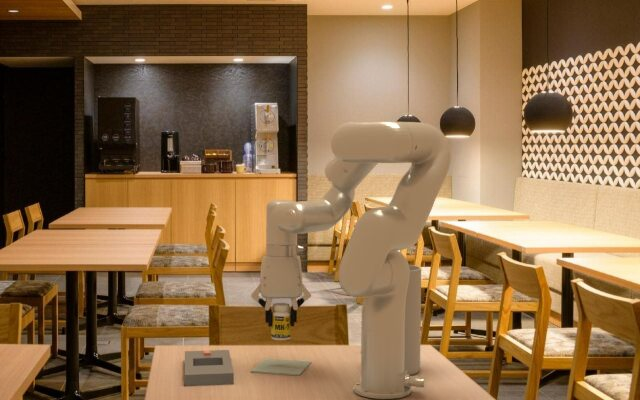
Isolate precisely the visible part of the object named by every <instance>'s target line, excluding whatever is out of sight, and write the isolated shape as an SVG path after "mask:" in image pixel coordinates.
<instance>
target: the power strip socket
mask: <svg viewBox="0 0 640 400" xmlns="http://www.w3.org/2000/svg"><path fill="white" fill-rule="evenodd" d="M231 359H232V358H231V353H230V349H218V350H217V349H215V350H213V349H211V350H209V349H208V350H187V351H186V350H185V351H184V387H189V386H191V387H192V386H209V385H210V386H212V385H213V386H216V385H234V383H235V382H234V381H235V380H234V379H235V376H234V375H235V374H234V368H233V363H232V360H231Z"/></svg>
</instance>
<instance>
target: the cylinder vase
mask: <svg viewBox="0 0 640 400" xmlns="http://www.w3.org/2000/svg"><path fill="white" fill-rule="evenodd" d="M409 269H410V277H409V283H408V288H407V294H406V304H405V345H404V369H407V375H410V376H414V375H416V374H417V373H418V372H419V371H420V369H421V333H422V330H421V325H422V322H421V320H422V319H421V317H422V267H420V266H418V265H413V264H409Z"/></svg>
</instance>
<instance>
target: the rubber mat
mask: <svg viewBox="0 0 640 400" xmlns="http://www.w3.org/2000/svg"><path fill="white" fill-rule="evenodd" d="M310 365H312V361H311V360H310V361H309V360H296V359H295V360H294V359H277V358H264V359H263V360H262V361H260V362H259V363H258V364H256V365H255V366H254V367H253V368H252V369H251V370H250V373H254V374H268V375H270V374H271V375H282V376H283V375H284V376H296V377H297V376H298V377H299V376H301V375H302V374H303V373H304V371H306V369H308V367H309V366H310Z"/></svg>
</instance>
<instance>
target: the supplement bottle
mask: <svg viewBox="0 0 640 400" xmlns="http://www.w3.org/2000/svg"><path fill="white" fill-rule="evenodd" d="M290 309H291V307H290V304H289V303H286V302H276V303H273V304H272V326H271V327H270V338H271V339H272V340H275V341H287V340H290V339H291V327H292V326H291V313H290Z"/></svg>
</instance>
